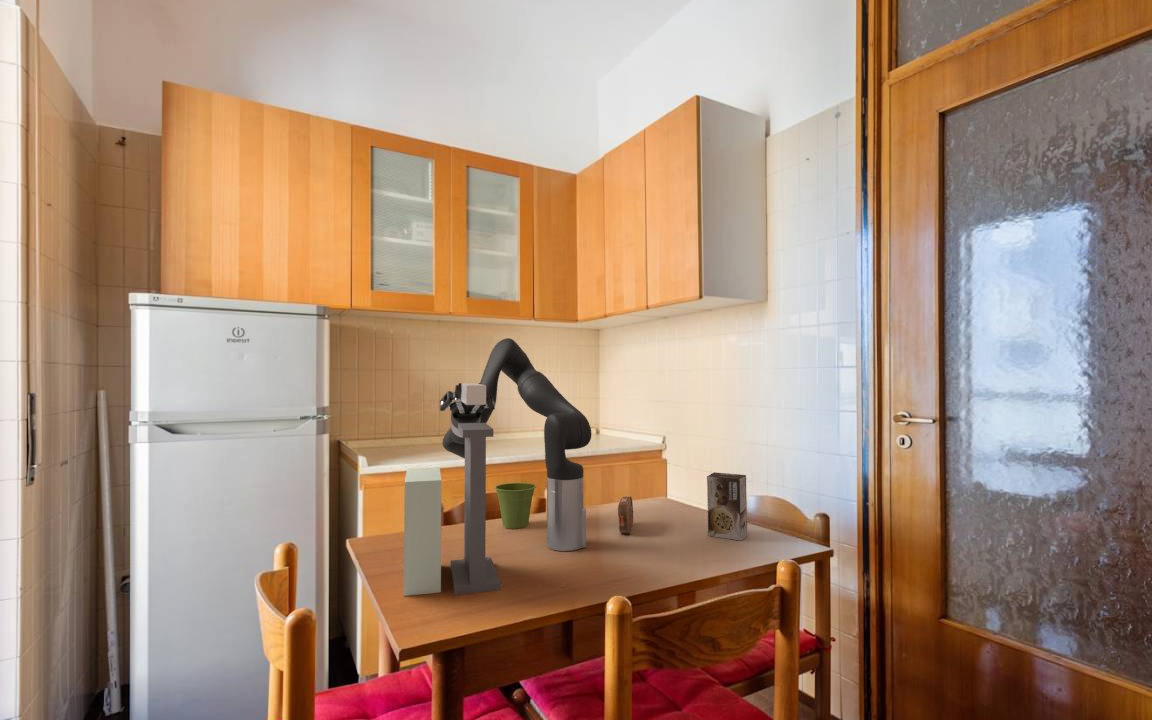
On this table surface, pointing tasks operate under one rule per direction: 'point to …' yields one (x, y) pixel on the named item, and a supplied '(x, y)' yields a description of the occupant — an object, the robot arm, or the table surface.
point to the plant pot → (515, 503)
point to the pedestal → (422, 531)
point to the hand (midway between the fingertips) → (470, 386)
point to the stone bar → (473, 394)
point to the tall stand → (474, 517)
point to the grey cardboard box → (727, 506)
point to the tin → (625, 515)
